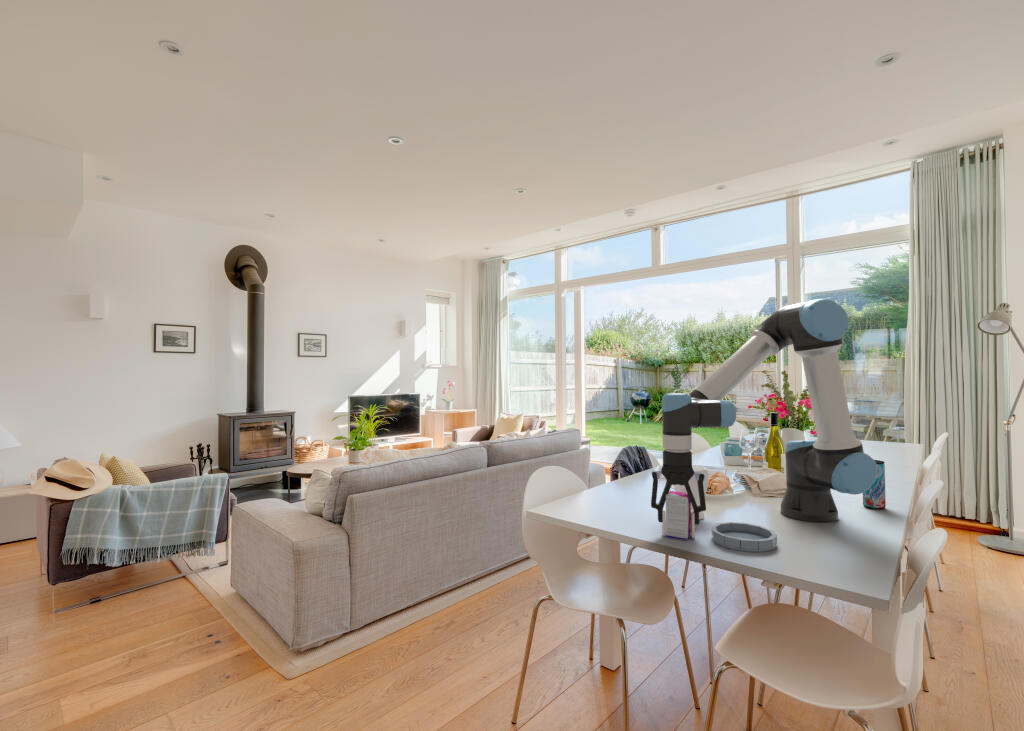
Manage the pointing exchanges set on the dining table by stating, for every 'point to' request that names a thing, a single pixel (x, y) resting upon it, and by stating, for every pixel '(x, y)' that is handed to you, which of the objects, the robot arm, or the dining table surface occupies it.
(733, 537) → the dish
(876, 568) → the dining table surface
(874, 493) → the beverage can
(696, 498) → the cup
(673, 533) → the supplement box
